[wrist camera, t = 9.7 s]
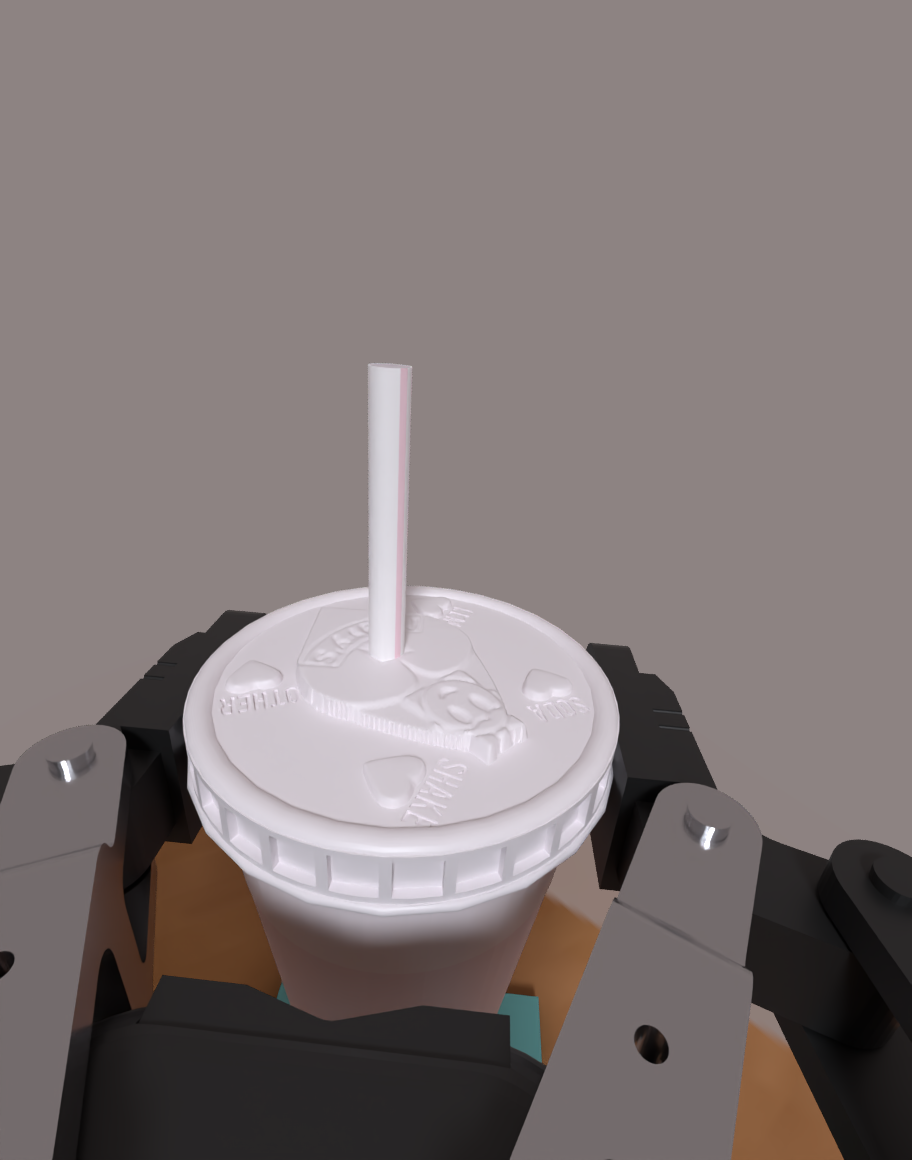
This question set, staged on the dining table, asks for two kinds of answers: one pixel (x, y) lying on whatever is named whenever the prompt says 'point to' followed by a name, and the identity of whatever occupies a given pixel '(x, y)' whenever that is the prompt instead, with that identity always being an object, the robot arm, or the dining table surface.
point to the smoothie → (398, 768)
